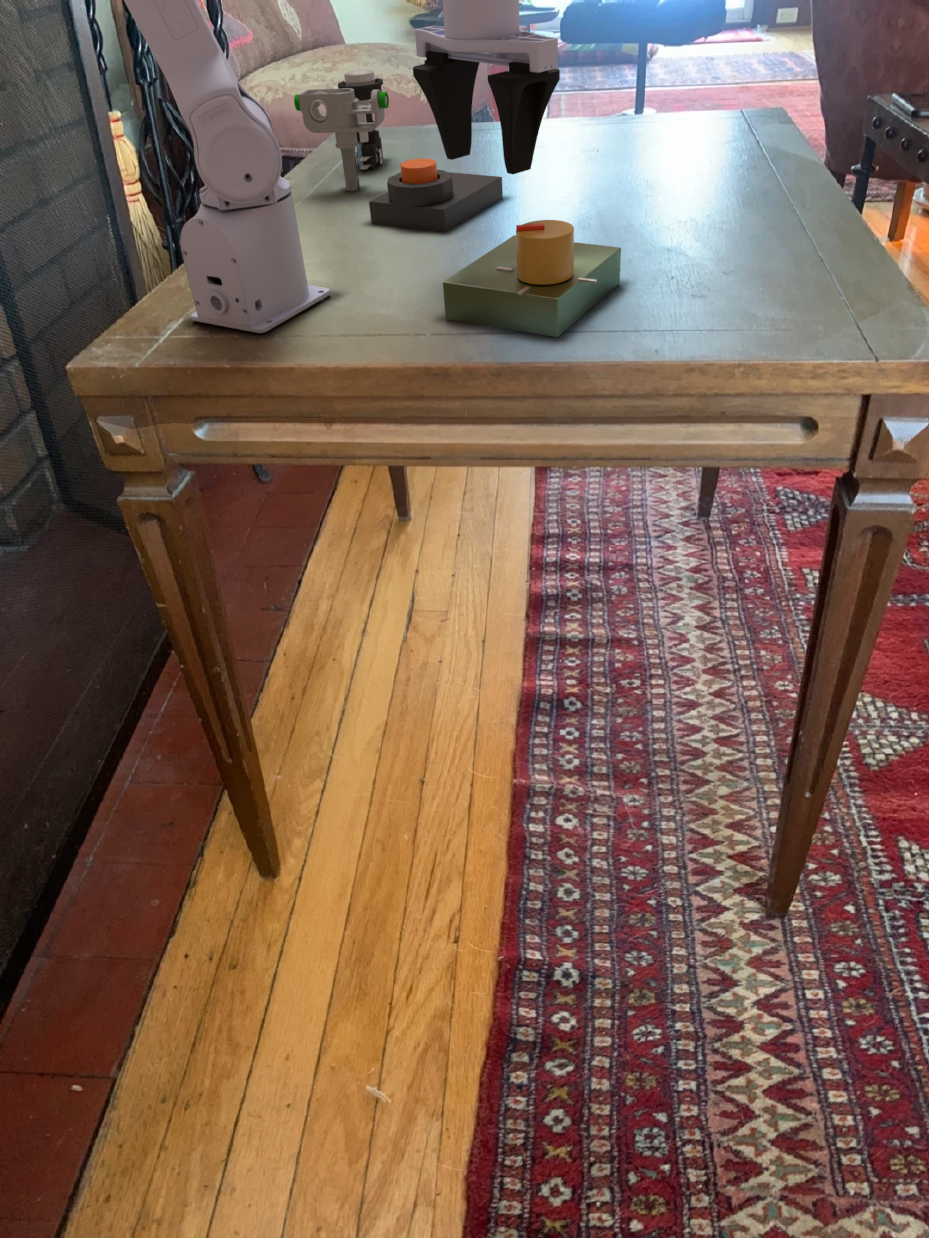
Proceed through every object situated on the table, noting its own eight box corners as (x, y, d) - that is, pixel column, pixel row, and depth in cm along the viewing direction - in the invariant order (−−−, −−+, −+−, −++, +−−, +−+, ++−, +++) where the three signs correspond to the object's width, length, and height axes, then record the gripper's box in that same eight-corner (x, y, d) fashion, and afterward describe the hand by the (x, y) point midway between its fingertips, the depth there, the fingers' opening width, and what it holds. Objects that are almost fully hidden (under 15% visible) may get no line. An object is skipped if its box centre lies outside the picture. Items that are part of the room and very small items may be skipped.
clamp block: (571, 341, 69) (571, 300, 67) (443, 320, 74) (440, 281, 72) (634, 285, 77) (636, 247, 75) (514, 269, 82) (513, 233, 80)
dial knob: (571, 263, 74) (571, 213, 71) (576, 283, 70) (576, 231, 68) (516, 267, 74) (514, 217, 71) (518, 287, 70) (516, 235, 68)
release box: (444, 233, 91) (440, 190, 89) (369, 224, 95) (364, 183, 92) (503, 198, 99) (501, 158, 97) (432, 191, 103) (429, 152, 100)
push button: (385, 173, 110) (374, 78, 104) (342, 175, 111) (328, 80, 105) (395, 159, 115) (385, 67, 109) (353, 160, 116) (341, 69, 110)
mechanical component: (392, 193, 104) (381, 92, 97) (306, 193, 106) (290, 95, 99) (399, 185, 106) (389, 86, 99) (314, 186, 108) (299, 89, 101)
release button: (425, 188, 91) (424, 169, 90) (395, 185, 93) (393, 166, 91) (444, 178, 93) (443, 159, 92) (414, 175, 95) (412, 157, 94)
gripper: (589, -42, 65) (585, 166, 73) (458, -45, 74) (468, 141, 82) (514, -30, 62) (520, 187, 70) (387, -35, 71) (405, 158, 79)
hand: (487, 164), depth 76 cm, fingers open, 7 cm apart
